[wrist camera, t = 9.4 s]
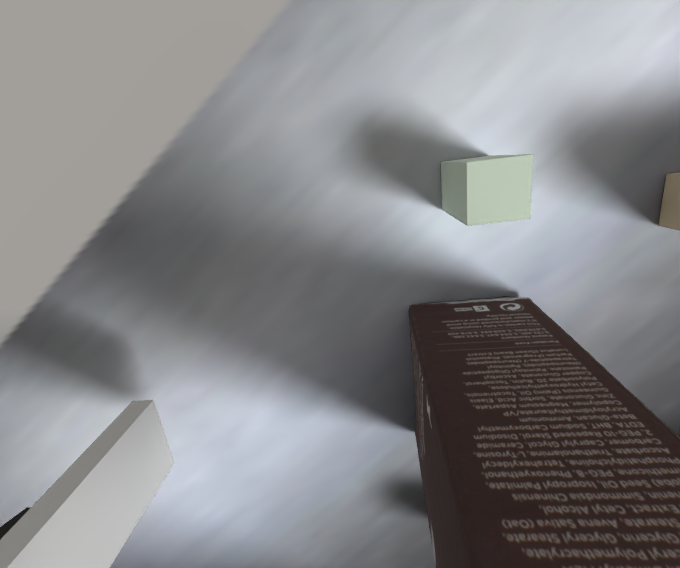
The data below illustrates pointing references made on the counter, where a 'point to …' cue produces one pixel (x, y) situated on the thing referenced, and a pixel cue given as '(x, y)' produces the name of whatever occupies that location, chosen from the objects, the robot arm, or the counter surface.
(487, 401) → the box
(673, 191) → the channel
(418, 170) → the counter surface
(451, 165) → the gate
